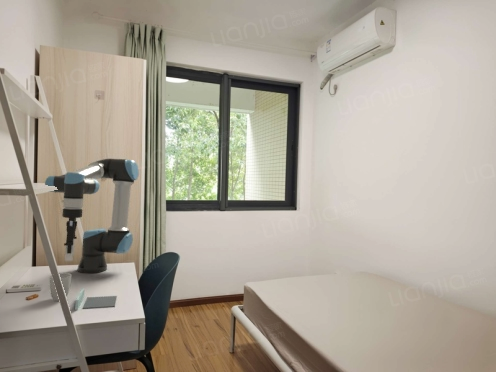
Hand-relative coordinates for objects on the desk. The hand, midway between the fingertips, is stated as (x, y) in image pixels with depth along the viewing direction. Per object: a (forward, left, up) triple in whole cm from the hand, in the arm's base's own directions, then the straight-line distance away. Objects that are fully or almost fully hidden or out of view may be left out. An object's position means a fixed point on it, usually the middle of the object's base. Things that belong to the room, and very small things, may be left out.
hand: (69, 257), depth 138 cm
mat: (+6, +14, -18) cm, 24 cm away
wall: (+6, +6, -18) cm, 20 cm away
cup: (-1, -3, -18) cm, 19 cm away
